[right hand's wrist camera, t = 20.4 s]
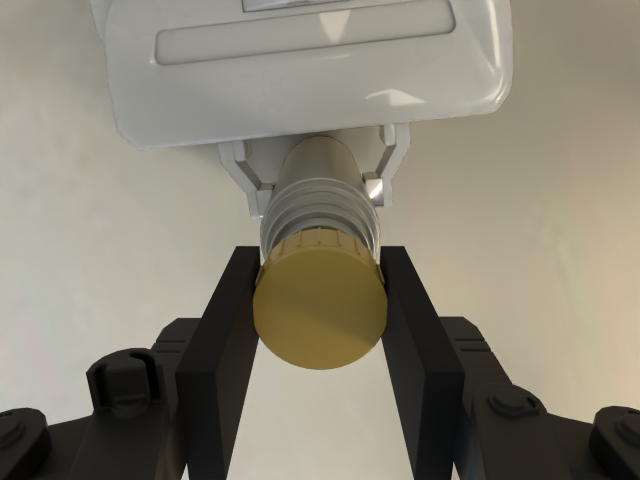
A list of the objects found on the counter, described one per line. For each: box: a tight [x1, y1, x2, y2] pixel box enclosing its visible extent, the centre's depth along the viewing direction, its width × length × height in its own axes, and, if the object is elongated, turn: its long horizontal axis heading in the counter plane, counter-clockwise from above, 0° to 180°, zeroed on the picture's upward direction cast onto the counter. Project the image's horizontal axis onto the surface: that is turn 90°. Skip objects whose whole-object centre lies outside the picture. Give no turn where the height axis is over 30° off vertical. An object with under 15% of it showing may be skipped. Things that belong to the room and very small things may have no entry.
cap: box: [253, 227, 388, 370], centre depth 14 cm, size 4×4×2 cm
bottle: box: [260, 136, 380, 260], centre depth 23 cm, size 5×5×19 cm
